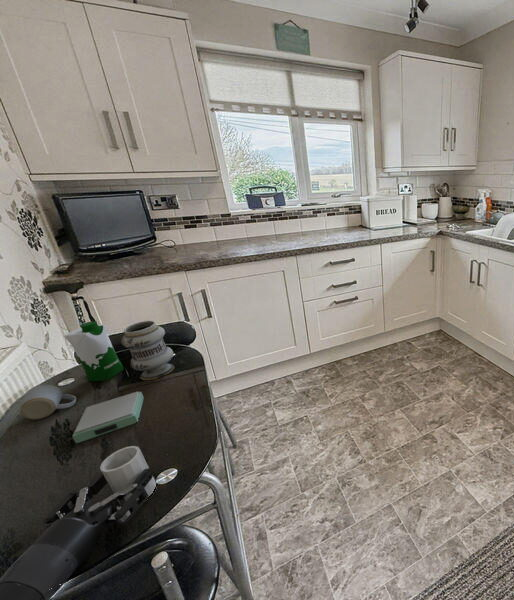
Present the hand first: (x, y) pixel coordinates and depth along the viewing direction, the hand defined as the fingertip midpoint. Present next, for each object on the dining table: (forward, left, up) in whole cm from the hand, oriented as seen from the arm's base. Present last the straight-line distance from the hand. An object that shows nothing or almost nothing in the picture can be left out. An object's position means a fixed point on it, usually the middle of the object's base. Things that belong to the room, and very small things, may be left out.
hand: (128, 472), depth 66 cm
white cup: (0, 0, -6) cm, 6 cm away
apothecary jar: (-1, +57, -6) cm, 57 cm away
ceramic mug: (-27, +52, -6) cm, 59 cm away
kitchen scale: (-10, +35, -6) cm, 37 cm away
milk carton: (-17, +67, -6) cm, 69 cm away
